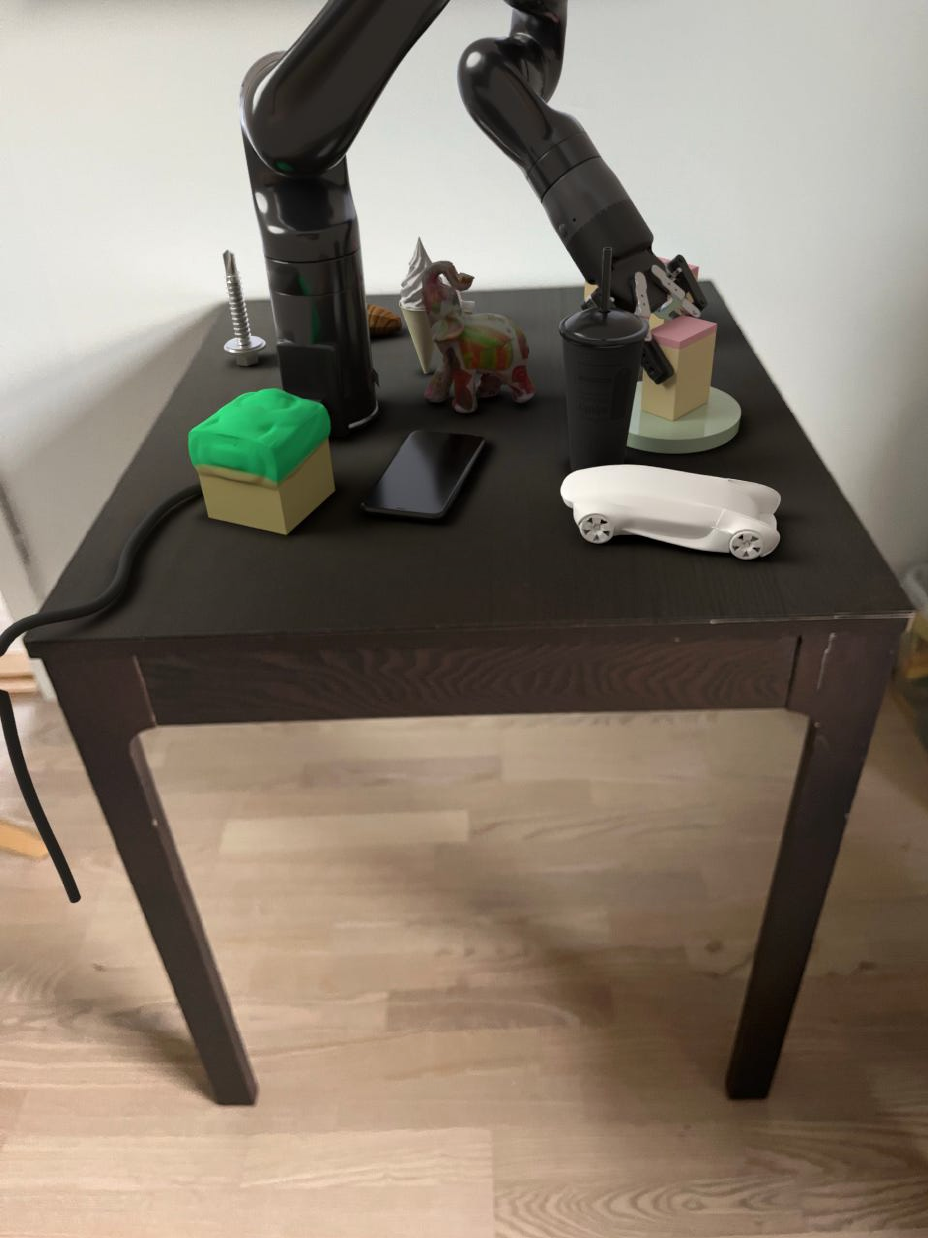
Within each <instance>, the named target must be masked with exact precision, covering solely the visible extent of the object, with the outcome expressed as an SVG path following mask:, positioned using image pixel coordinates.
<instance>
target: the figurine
mask: <svg viewBox="0 0 928 1238" xmlns="http://www.w3.org/2000/svg"><path fill="white" fill-rule="evenodd" d="M440 274H443V276H444V277H446V279H447V280H448V282H449V283H450V285H451V286H448V285H446V284H443V283H441V282H440V280H439V279H438V277H439V275H440ZM475 279H476V278H475V276H473V275H470V274H468V273H465V272H459V271H458V270H457V269H456V265H454V262H452V261H451V260H437V261H432V264H431V265H430V266H429V268H428V269H427V270H426V271H425V273H424V274H423V277H422V295H423V298H421V300H422V303H423V305H424V307H425V309H426V312H427V315H428V319H429V323H430V327H431V330H430V334H431V336H432V341H434V342H435V345H436V347H437V348H438V350H439V352H440V353H441V355H442V358H441V362H440V363H439V365H438V366H437V368H436V370H435V372H434V374H433V375H432V378H431V381H430V383H429V385H428V387H427V388H426V389H425V390H424V393H423V399H424V400H425V401H427V402H429V403H443V402H445V401H446V400H447V399H448V397H450V394H451V387H452V385H453V389H454V390H453V391H454V399H453V400H452V401H451V405H452V409H453V410H454V411H455V412H457V413H462V414H469V413H473V412H475V411H476V410H477V409H478V401H477V395H478V396H479V397H481V398H491V397H495V396H497V394H498V393H499V392H500V391H501V389H502V388H501V387H502V386H505V385H506V386H508V387H509V388H510V389H511V390H512V393H511V395H512V396H511V397H512V399H513V401H514V402H516V403H518V404H521V403H522V404H523V403H526V402H528V401H529V400H531V398H533V396H534V395H535V392H536V387H535V384H534V383H533V380H532V378H531V376H530V375H529V372H528V370H527V365H528V361H529V354H530V347H529V343H528V340H527V338H526V335H525V333H524V332H523V330H522V329H521V328H520V326H519V324H517V323H516V322H515V321H513V320H512V319H510V318H509V317H506V316H504V315H502V314H499V313H498V314H497V313H491V312H482V313H472V311H467V310H466V309H461V306H460V302H459V298H458V294H457V292H456V290H458V291H459V293H461V292H465V291H468V290H469V289H470V288H471V287H472V285H473V283H474V280H475ZM477 375H480V378H479V382H477V383H476V382H475V381H476V379H475V378H476V376H477ZM475 383H476V384H475Z"/></svg>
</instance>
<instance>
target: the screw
mask: <svg viewBox="0 0 928 1238" xmlns="http://www.w3.org/2000/svg"><path fill="white" fill-rule="evenodd" d="M221 255H222V261H223V266H224V271H225V276H224V278H225V282H224V284H226V287H225V289H227V292H226V294H228V297H227V299H228V300H229V302H228V305H230V307H229V310H231V313H230V315H232V317H231V320H233V322H232V325H233V326H234V327H233V330H234V331H235V332H234V335H236V337H233V338H232V339H229V340H228V341H227V342H225V344H224V345H223V350H224V352H225V353H226V354H228V355H231V356H234V357H235V360H236V361H235V362H236V365H237V366H242V367H250V366H253V365H256V364H259V355H258V354H259V353H260V352H261V351H264V349H266V347H267V343H266V341H265V340H264V339H262V337H259V336H257V335H252V333H251V332H250V331H251V328H250V327H249V326H250V323H249V322H248V321H249V318H248V313H247V307H246V305H247V304H246V302H245V301H246V298H245V297H244V295H245V293H244V292H243V290H244V287H243V282H242V281H241V279H242V277H241V276H239V275H240V271H238V268H237V267H238V266H237V261H236V256H235V252H234V251H232V250H230V249H226V250H225V251H223V252H222V254H221Z"/></svg>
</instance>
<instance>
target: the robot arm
mask: <svg viewBox="0 0 928 1238" xmlns="http://www.w3.org/2000/svg"><path fill="white" fill-rule="evenodd" d="M451 2H452V0H327V1H326V2H325V4H324V5H323V7H322V8H321V9H320V10H319V11H318V13H317V14H316V15H315V17H314V18H313V19H312V21H311V22H310V23H309V24H308V25H307V27H306V28H305V29H304V30H303V32H302V33H301V34H300V35H299V36H298V38H297V39H296V40H295V41H294V42H293V44H291V46H290V47H289V48H288V49H279V50H275V51H272V52H269V53H266V54H265V55H263V56H261V57H259V58H258V59H257V60H256V61H255V62H254V63H253V64H252V65H251V66H250V67H249V68H248V70H247V72H246V73H245V75H244V76H243V79H242V81H241V84H240V87H239V92H238V101H237V106H238V107H237V108H238V118H239V125H240V133H241V139H242V145H243V150H244V156H245V161H246V168H247V174H248V180H249V185H250V192H251V196H252V203H253V204H252V205H253V210H254V214H255V217H256V223H257V228H258V231H259V237H260V242H261V243H260V244H261V248H262V253H263V259H264V266H265V273H266V279H267V285H268V292H269V298H270V299H269V300H270V305H271V311H272V317H273V323H274V329H275V336H276V344H275V350H276V355H277V362H278V368H279V369H278V370H279V375H280V381H281V387H282V390H283V391H285V392H287V393H289V394H291V395H294V396H297V397H299V398H302V399H306V400H310V401H315V402H318V403H320V404H322V405H323V406H324V407H325V408H326V410H327V412H328V415H329V418H330V425H331V428H330V434H329V437H332V438H333V437H334V438H346V437H347V436H348V435H349V434H350V433H352V432H356V431H359V430H361V429H364V428H366V427H368V426H370V425H372V424H373V423H374V422H375V420H376V419H378V416H379V413H380V412H379V403H378V401H377V392H376V386H377V387H378V388H380V380H379V374H378V372H377V371H376V369H375V368H374V364H373V354H372V353H373V352H372V343H371V336H370V332H369V321H368V311H367V302H368V301H367V293H366V282H365V271H364V261H363V250H362V242H361V231H360V222H359V216H358V213H357V209H356V206H355V202H354V197H353V193H352V192H353V191H352V187H351V183H350V175H349V167H348V157H347V153H348V152H349V150H350V148H351V147H352V146H353V143H354V142H355V140H356V139H357V137H358V135H359V133H360V131H361V130H362V128H363V126H364V125H365V123H366V121H367V119H368V118H369V117H370V114H371V112H372V111H373V109H374V108H375V106H376V104H377V102H378V101H379V100H380V97H381V96H382V95H383V93H384V91H385V89H386V88H387V86H388V84H389V82H391V81H390V80H391V79H392V77H393V76H394V75H395V73H396V71H397V69H398V68H399V67H400V65H401V63H402V62H403V61H404V59H405V58H406V56H407V55H408V54H409V52H410V51H411V50H412V48H414V46H415V45H416V44H417V42H418V41H419V40H420V39H421V37H423V36H424V35H425V33H426V32H427V31H428V30H429V28H430V27H431V26H432V25H433V24H434V23H435V21H436V20H437V19H438V18H439V17H440V15H441V14H442V13H443V12H444V10H446V8H447V7H448V5H449V4H450V3H451ZM501 2H503V3H504V4H505V5H506V6H507V7H508V8H510V9H511V14H510V24H509V25H510V26H509V31H508V34H507V35H490V36H489V35H488V36H483V37H480V38H477V39H474V40H472V41H471V42H470V43H469V44H467V46H465V48H463V50H462V52H461V53H460V55H459V58H458V61H457V64H456V71H455V79H456V89H457V92H458V95H459V98H460V101H461V103H462V105H463V108H464V109H465V111H466V113H467V114H468V116H469V117H470V119H471V120H472V121H473V123H474V124H475V125H476V126H477V127H478V129H479V130H480V131H481V132H482V133H483V134H484V135H485V136H486V137H487V138H488V139H489V140H490V141H491V142H492V144H494V146H496V147H497V148H498V149H499V150H500V151H501V152H502V153H503V155H505V156H506V157H507V158H508V159H509V160H510V161H511V162H513V164H515V166H517V167H518V168H519V170H520V171H521V173H522V175H523V176H524V178H525V180H526V181H527V183H528V185H529V186H530V188H531V189H532V191H533V193H534V194H535V196H536V197H537V199H538V201H539V203H540V204H541V206H542V207H543V209H544V211H545V214H546V215H547V218H548V220H549V223H550V224H551V227H552V228H553V230H554V232H555V233H556V235H557V237H558V238H559V240H560V241H561V243H562V244H563V247H564V248H565V250H566V251H567V253H568V254H569V256H570V257H571V259H572V261H573V262H574V264H575V266H576V267H577V269H578V270H579V272H580V274H581V275H582V277H583V279H584V281H585V280H586V282H587V283H588V284H590V285H597V286H598V288H596V289H595V290H594V291H593V292H592V293H591V294H590V295H589V296H588V297H587V298H586V299H585V300H584V299H583V301H582V302H581V303H580V308H581V311H584V310H587V309H591V308H597V307H601V292H602V271H603V250H604V248H606V247H610V248H612V257H611V276H610V295H609V307H612V308H618V309H622V310H625V311H627V312H630V313H632V314H635V315H638V316H640V317H642V318H644V319H645V320H646V321H647V322H648V324H649V318H650V316H651V313H653V314H654V315H656V316H657V317H658V318H660V319H667V320H668V321H671V320H673V319H675V318H677V317H679V316H682V315H686V316H689V317H693V318H697V319H700V317H701V314H702V311H703V310H704V309H706V307H708V304H709V303H708V300H707V298H706V296H705V295H704V293H703V291H702V288H701V287H700V285H699V283H698V280H697V281H696V279H695V277H694V275H693V273H692V271H691V269H690V268H689V266H688V264H689V263H688V262H687V260H686V258H685V257H684V255H682V254H676V255H675V256H674V257H673V258H672V259H670V260H671V261H668V262H662V261H661V260H660V259H659V258H658V257H659V256H657V255H656V254H655V253H654V252H653V243H654V239H655V237H654V233H653V232H652V231H651V229H650V227H649V226H648V224H647V222H646V221H645V219H644V218H643V216H642V214H641V213H640V211H639V209H638V208H637V206H636V204H635V202H634V201H633V200H632V198H631V197H630V195H629V193H628V191H627V190H626V189H625V187H624V185H623V183H622V182H621V180H620V179H619V177H618V176H617V175H616V173H615V172H614V171H613V170H612V169H611V167H610V166H609V165H608V164H607V163H606V161H605V160H604V158H603V157H602V155H601V153H600V152H599V150H598V149H597V147H596V146H595V144H594V142H593V141H592V139H591V137H590V136H589V134H588V132H587V131H586V129H585V128H584V127H583V125H582V124H581V122H580V121H579V120H578V119H577V117H575V116H574V115H572V114H571V113H568V112H565V111H561V110H558V109H555V108H553V107H552V106H550V105H549V103H550V101H551V99H552V98H553V97H554V94H555V93H556V90H557V87H558V85H559V82H560V79H561V77H562V71H563V65H564V57H565V49H566V47H565V46H566V39H567V38H566V36H567V30H568V29H567V28H568V9H569V0H501ZM688 292H689V293H690V295H691V297H692V299H693V300H694V301H693V302H692V303H691V302H689V301H688V299H687V297H686V294H687V293H688ZM668 295H670V296H671V297H672V298H671V299H670V300H669V301H668V300H667V298H668ZM664 303H665V304H664ZM675 308H679V309H680V311H681V312H682V314H681V315H679V314H678V313H677V312H676V311H675V310H674V309H675ZM651 339H652V335H651V330H650V325H649V333H648V335H647V336H646V338H645V340H644V346H643V352H642V357H641V363H640V366H641V367H642V369H643V368H644V370H645V371H646V373H647V375H648V376H649V378H650V379H652V380H653V381H654V383H655V384H657V385H659V384H661V383H663V382H665V381H666V380H667V379H669V378H670V377H671V376H673V374H674V370H673V368H672V366H671V365H670V363H669V361H668V360H667V358H666V356H665V355H664V353H663V352H662V350H661V348H660V347H659V345H658V344H657V342H656V340H654V341H652V342H651ZM716 353H717V348H716V347H715V348H714V355H715V354H716ZM201 493H202V494H203V491H202V486H201V482H200V481H197V482H195V483H192V484H188V485H187V486H184V487H182V488H181V489H178V490H177V491H175V492H174V493H172V494H170V495H168V496H167V497H165V498H164V499H162V500H161V501H160V502H158V504H157V505H155V506H154V507H153V508H152V509H151V510H150V511H149V512H148V513H147V514H146V516H145V517H144V518H143V519H142V520H141V521H140V523H139V524H138V526H136V528H135V529H134V531H133V532H132V533H131V535H130V537H129V538H128V540H126V542H125V544H124V545H123V548H122V550H121V552H120V557H119V560H118V565H117V570H116V573H115V576H114V577H113V580H112V582H111V583H110V585H108V587H107V588H106V589H105V590H104V591H103V592H102V593H101V594H100V595H98V596H97V597H95V598H94V599H92V600H90V601H87V602H85V603H81V604H78V605H74V606H69V607H63V608H56V609H51V610H46V611H41V612H37V613H34V614H31V615H28V616H25V617H22V618H20V619H19V620H16V621H15V622H14V623H12V624H11V625H9V626H8V627H6V629H4V630H3V631H2V632H1V634H0V658H2V657H3V656H5V654H6V653H7V651H8V650H9V648H10V646H11V645H12V644H13V643H14V642H15V640H16V639H18V638H19V637H20V636H21V635H23V634H25V633H27V632H28V631H30V630H33V629H36V628H39V627H43V626H47V625H52V624H56V623H62V622H63V623H64V622H69V621H74V620H77V619H82V618H85V617H89V616H91V615H93V614H96V613H98V612H100V611H101V610H104V609H105V608H106V607H108V606H109V605H111V603H113V602H114V601H115V600H116V599H117V598H118V597H119V596H120V595H121V594H122V592H123V590H124V589H125V587H126V585H127V583H128V581H129V577H130V572H131V568H132V563H133V559H134V555H135V554H136V551H137V549H138V548H139V546H140V545H141V543H142V542H143V541H144V539H145V538H146V536H147V535H148V533H149V532H150V531H151V530H152V528H153V527H154V525H156V524H157V522H158V521H159V520H160V518H161V517H163V516H164V515H165V514H166V513H168V511H169V510H171V509H172V508H173V507H175V506H176V505H178V504H179V503H180V502H182V501H184V500H186V499H188V498H190V497H194V496H196V495H198V494H201ZM15 717H16V716H15V712H14V707H13V704H12V699H11V696H10V694H9V691H7V690H4V689H2V688H0V724H1V728H2V729H1V730H2V733H3V738H4V741H5V742H4V743H5V745H6V749H7V753H8V757H9V760H10V763H11V766H12V769H13V773H14V776H15V778H16V782H17V784H18V786H19V790H20V792H21V794H22V797H23V800H24V802H25V804H26V807H27V809H28V812H29V814H30V816H31V818H32V820H33V822H34V824H35V827H36V829H37V831H38V833H39V835H40V837H41V839H42V841H43V843H44V845H45V848H46V850H47V852H48V854H49V856H50V859H51V860H52V862H53V865H54V868H55V869H56V871H57V874H58V876H59V878H60V881H61V883H62V885H63V888H64V890H65V893H66V896H67V898H68V900H69V902H70V903H72V904H76V903H79V902H80V901H81V899H82V895H81V892H80V890H79V888H78V885H77V882H76V879H75V878H74V875H73V872H72V871H71V868H70V866H69V863H68V861H67V859H66V856H65V855H64V853H63V850H62V847H61V846H60V844H59V842H58V839H57V837H56V835H55V833H54V831H53V829H52V826H51V824H50V822H49V820H48V817H47V815H46V814H45V810H44V809H43V806H42V804H41V802H40V799H39V796H38V794H37V792H36V789H35V786H34V783H33V781H32V778H31V775H30V772H29V769H28V765H27V762H26V759H25V755H24V752H23V748H22V744H21V740H20V736H19V733H18V726H17V722H16V718H15Z"/></svg>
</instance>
